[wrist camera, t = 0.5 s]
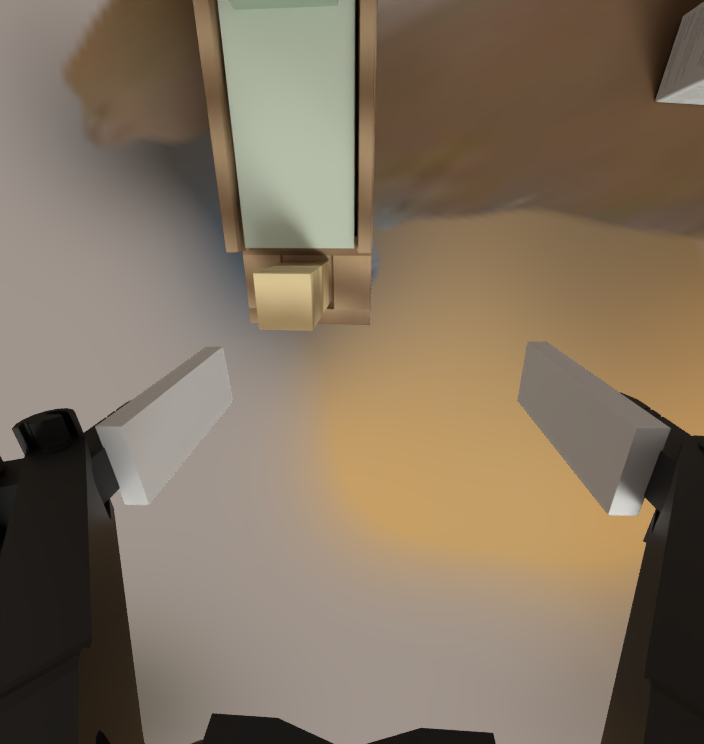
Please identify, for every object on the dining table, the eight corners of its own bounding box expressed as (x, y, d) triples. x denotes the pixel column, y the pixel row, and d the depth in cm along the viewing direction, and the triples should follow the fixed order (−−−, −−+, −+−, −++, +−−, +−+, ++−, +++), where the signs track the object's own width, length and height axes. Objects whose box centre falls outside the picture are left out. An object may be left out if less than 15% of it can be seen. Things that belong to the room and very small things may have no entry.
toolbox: (237, -30, 29) (173, -146, 20) (378, -37, 29) (379, -160, 19) (268, 308, 41) (237, 333, 32) (370, 310, 40) (368, 335, 31)
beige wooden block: (287, 260, 33) (252, 273, 24) (329, 260, 33) (310, 274, 24) (290, 301, 35) (258, 329, 25) (330, 302, 34) (312, 330, 25)
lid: (210, -114, 22) (186, -163, 19) (356, -123, 21) (352, -175, 18) (249, 247, 30) (236, 249, 27) (354, 247, 30) (352, 249, 27)
